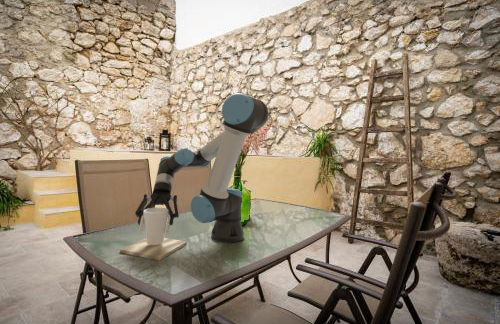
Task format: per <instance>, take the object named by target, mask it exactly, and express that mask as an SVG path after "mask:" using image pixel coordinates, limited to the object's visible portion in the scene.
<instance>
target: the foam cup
mask: <svg viewBox="0 0 500 324" xmlns="http://www.w3.org/2000/svg"><path fill="white" fill-rule="evenodd" d="M143 210H144V209H143ZM168 216H169V213H168V209H167V208H166V207H153V208H148V209H145V210H144V211H143V217H144V229H145V230H144V232H145V238H146V240H147V244H149V245H158V244H162V243H163V241H164V238H165V233H166V227H167V221H168Z"/></svg>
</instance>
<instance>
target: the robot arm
mask: <svg viewBox="0 0 500 324" xmlns="http://www.w3.org/2000/svg"><path fill="white" fill-rule="evenodd" d="M221 114H222V119H223V123H222V126H223V127H224V130H223V131H222V132H220V133H219V134H218V135H217V136H215V137H214V138H213V139H211V140H210V141H209V142H207V143H206V144H205V145H203V146H202V147H201V148H200V149H198V150H196V151H192V150H191V149H190V148H188V147H182V148H180V149H179V150H176V151H175V153H173V154H172V155H171V156H163V157H162V158H161V159H160V161H159V163H158V169H157V173H156V177H155V182H154V186H153V189H152V190H153V191H152V194H148V195H147V194H146V193H144V195H143V198H142V201H141V202H140V204H139V205H138V206H137V209H136V210H135V213H134V214H135V216H136V218H138V220H137V224H138V226H139V227H138V229H137V230H138V231H137V232H138V233H139V235H140V234H141V235H142V233H143V229H144V227H145V223H144V217H143V211H144V210H145V209H148V208H155V207H156V206H159V205H160V206H165V208H166V209H168V217H167V222H166V229H165V233H166V234H167V235H169V234H170V229H171V226H173V224H174V219H175V218H176V219H177V218H179V216H180V215H179V209H178V204H177V202H178V196H177V194H175V195H171V194H172V188H173V184H174V178H175V174H177V173H178V172H179V171H181V170H182V169H184V168H185V169H186V168H205V167H209V166H210V165H211V163H212V160H214V162H213V165H212V168H211V171H210V174H209V177H208V178H207V180H208V181H207V183H206V184H204V185H202V186H201V189H200V192H199V194H197V195H195V196H194V197H193V198H192V199H191V201H190V212H191V214H192V217H193V218H194V219H195V220H196V221H197V222H199V223H202V224H207V223H212V222H214V224H213V227H212V230H211V233H210V234H211V235H210V236H211V237H210V238H211V240H213V241H215V242H219V243H229V244H230V243H237V242H240V241H242V240H244V237H245V233H244V229H243V225H242V222H241V211H242V210H241V207H242V203H243V202H242V197H243V195H242V192H241V191H240V190H241V189H237V188H231V187H230V188H229V185H230V183H231V180H232V177H233V174H234V171H235V169H236V165H237V162H238V160H239V157H240V154H241V151H242V148H243V145H244V142H245V140H246V137H248V136H250V135H253V134H254V133H256V132H257V131H259V130H260V129H261V128H262V127H264V126H265V124H266V123H268V119H269V114H270V113H269V108H268V106H267V105H266V103H265V102H264V101H263V100H261V99H257V98H255V97H252V96H251V95H248V94H244V93H239V92H237V93H233V94H231V95H230V96H228V97H227V98H226V99H225V100H224V102H223V104H222V107H221ZM170 200H171V201H172V202H173V208H174V213H173V210H172V207H170V204H169V202H170ZM149 201H150V202H149ZM148 202H149V203H148ZM147 203H148V204H147Z"/></svg>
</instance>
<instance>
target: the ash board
mask: <svg viewBox="0 0 500 324" xmlns="http://www.w3.org/2000/svg"><path fill="white" fill-rule="evenodd" d="M187 242H188V241H185V240H179V239H173V238H167V237H164V241H163V243H162V244H158V245H149V244H147V240H146V237H145V238H142V239H140V240H138V241H135V242H133V243H132V244H129V245H126V246H124V247H121V248H120V249H119V253H122V254H127V255H131V256H136V257H140V258H146V259H150V260H156V261H161V260H163V259H165V258H166V257H168V256H170V255H171V254H172V253H174V252H176V251H178V250H180V249H181V248H183V247H185V246H187Z"/></svg>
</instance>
